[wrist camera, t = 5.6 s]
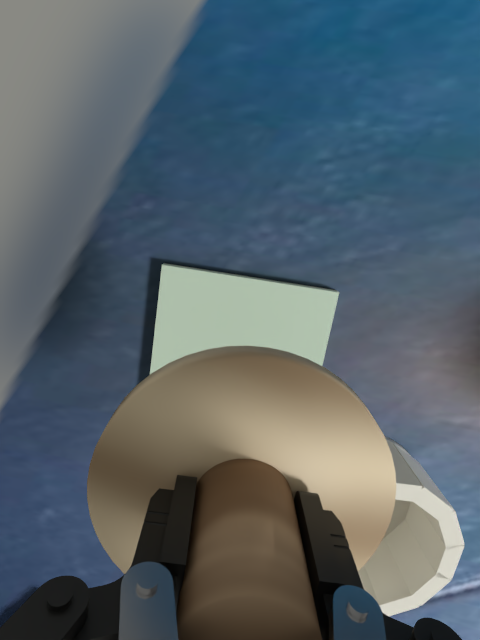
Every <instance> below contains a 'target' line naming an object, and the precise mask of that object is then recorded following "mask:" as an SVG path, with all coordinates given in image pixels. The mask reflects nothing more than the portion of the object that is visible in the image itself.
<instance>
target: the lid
mask: <svg viewBox="0 0 480 640" xmlns="http://www.w3.org/2000/svg"><path fill="white" fill-rule="evenodd" d="M177 475H184V476H191V477H197V483H196V491H195V499H194V506H193V514H192V522H191V529H190V537H189V544H188V552H187V560H186V567H185V573H184V579H183V585H182V588H181V590H180V593H179V597H178V603H177V610H176V620H177V631H178V640H322V637H321V632H320V627H319V622H318V617H317V612H316V608H315V603H314V598H313V593H312V588H311V583H310V578H309V573H308V568H307V563H306V558H305V554H304V549H303V544H302V539H301V534H300V529H299V524H298V519H297V514H296V509H295V504H294V497H295V493H296V492H297V491H303V492H311V493H317V494H318V495H319V497H320V501H321V504H322V507H323V510H329V511H332V512H333V513H334V514H335V515H336V517H337V518H338V519H339V520H340V522H341V523H342V526H343V529H344V532H345V535H346V538H347V541H348V544H349V549H350V550H351V553H352V556H353V559H354V562H355V564H356V567H357V570H358V571H359V570H360V569H361V568H362V567H363V566H364V565H365V564H366V563H367V561H368V560H369V559H370V558H371V556H372V555H373V554H374V553H375V551H376V550H377V548H378V546H379V545H380V543H381V541H382V539H383V538H384V536H385V533H386V531H387V529H388V526H389V524H390V521H391V518H392V514H393V510H394V506H395V497H396V473H395V467H394V463H393V458H392V454H391V451H390V449H389V446H388V444H387V441H386V438H385V436H384V435H383V433H382V431H381V430H380V428H379V426H378V425H377V423H376V421H375V420H374V418H373V417H372V415H371V414H370V412H369V410H368V409H367V407H366V406H365V404H364V403H363V402H362V401H361V399H360V398H359V397H358V396H357V394H356V393H355V392H354V391H353V390H352V389H351V388H350V387H349V386H348V385H347V384H346V383H345V382H344V381H342V380H341V379H340V378H339V377H337V376H336V375H335V374H333V373H332V372H330V371H329V370H327V369H326V368H325V367H323V366H321V365H319V364H317V363H315V362H313V361H311V360H309V359H307V358H304V357H301V356H299V355H296V354H293V353H290V352H287V351H282V350H278V349H273V348H269V347H258V346H226V347H219V348H213V349H207V350H203V351H200V352H196V353H193V354H189V355H186V356H184V357H182V358H179V359H177V360H175V361H172V362H170V363H168V364H166V365H165V366H163V367H161V368H160V369H158V370H156V371H155V372H153V373H151V374H150V375H149V376H148V377H146V378H145V379H144V380H143V381H141V382H140V383H139V384H138V385H137V386H136V387H135V388H134V389H133V390H132V391H131V392H130V393H129V394H128V395H127V396H126V397H125V398H124V400H123V401H122V402H121V404H120V405H119V407H118V408H117V409H116V411H115V412H114V414H113V416H112V417H111V419H110V421H109V423H108V424H107V426H106V428H105V430H104V431H103V433H102V435H101V437H100V439H99V441H98V443H97V445H96V447H95V450H94V453H93V457H92V460H91V463H90V467H89V474H88V480H87V500H88V506H89V512H90V517H91V520H92V523H93V526H94V529H95V532H96V534H97V536H98V538H99V540H100V542H101V544H102V546H103V548H104V549H105V551H106V552H107V554H108V555H109V556H110V558H111V559H112V561H113V562H114V563H115V564H116V565H117V566H118V567H119V568H120V570H121V571H122V572H123V573H124V574H125V573H126V572H127V571H128V570H129V568H130V566H131V564H132V562H133V558H134V555H135V551H136V548H137V544H138V540H139V537H140V533H141V530H142V526H143V523H144V519H145V516H146V513H147V508H148V505H149V501H150V498H151V497H152V496H153V495H154V494H155V493H156V492H157V490H158V489H159V488H161V489H169V490H174V487H175V483H176V478H177Z"/></svg>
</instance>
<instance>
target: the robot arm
mask: <svg viewBox="0 0 480 640" xmlns="http://www.w3.org/2000/svg"><path fill="white" fill-rule="evenodd" d="M196 483H197V477H191V476H184V475H177V478H176V483H175V487H174V490H169V489H161V488H159V489H158V490H157V492H156V493H155V494H154V495H153V496H152V497H151V498H150V501H149V505H148V508H147V513H146V516H145V519H144V523H143V526H142V530H141V533H140V537H139V540H138V544H137V548H136V551H135V555H134V558H133V562H132V564H131V566H130V568H129V570H128V571H127V572H126V573H125V574H124V575H123V576H122V577H121V578H120V579H118V580H116V581H115V582H112V583H110V584H107V585H103V586H98V587H93V588H88V587H87V585H86V584H85V583H84V582H83V581H82V580H81V579H79V578H77V577H74V576H60V577H56V578H53V579H51V580H49V581H47V582H46V583H44V584H43V585H42V586H41V587H39V588H38V589H37V590H36V591H35V592H34V593H33V594H32V596H31V597H30V598H29V599H28V600H27V601H26V602H25V603H24V604H23V605H22V606H21V607H20V608H19V609H18V610H17V611H16V612H15V613H14V614H13V615H12V616H11V617H10V618H9V619H8V620H7V621H6V622H5V623H4V624H3V625H2V626H1V628H0V640H178V631H177V620H176V610H177V603H178V597H179V593H180V590H181V588H182V585H183V579H184V573H185V567H186V560H187V552H188V544H189V537H190V529H191V522H192V514H193V506H194V499H195V491H196ZM294 504H295V509H296V514H297V519H298V524H299V529H300V534H301V539H302V544H303V549H304V554H305V558H306V563H307V568H308V573H309V578H310V583H311V588H312V593H313V598H314V603H315V608H316V612H317V617H318V622H319V627H320V632H321V637H322V640H462V639H461V638H460V637H459V636H458V635H457V634H456V632H454V631H453V630H452V629H451V628H450V627H448V626H447V625H446V624H444V623H442V622H440V621H438V620H435V619H432V618H422V619H420V620H418V621H417V622H416V624H415V626H414V627H411V626H409V625H407V624H404V623H402V622H400V621H397V620H395V619H393V618H391V617H389V616H387V615H385V614H384V613H382V611H381V608H380V606H379V604H378V603H377V601H376V600H375V599H374V598H373V597H372V596H371V595H370V594H369V593H368V592H366V591H365V590H364V588H363V585H362V582H361V579H360V576H359V573H358V570H357V567H356V564H355V562H354V559H353V556H352V553H351V550H350V549H349V544H348V541H347V538H346V535H345V532H344V529H343V526H342V523H341V522H340V520H339V519H338V518H337V517H336V515H335V514H334V513H333V512H332V511H329V510H323V507H322V504H321V501H320V497H319V495H318V494H317V493H311V492H303V491H297V492H296V493H295V497H294Z"/></svg>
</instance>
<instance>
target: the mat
mask: <svg viewBox="0 0 480 640" xmlns="http://www.w3.org/2000/svg"><path fill="white" fill-rule="evenodd" d="M338 295H339V292H338V291H337V290H332V289H326V288H319V287H313V286H306V285H300V284H294V283H287V282H281V281H275V280H268V279H262V278H256V277H249V276H243V275H236V274H230V273H224V272H217V271H211V270H205V269H198V268H192V267H185V266H179V265H173V264H166V263H163V264H162V268H161V277H160V286H159V296H158V305H157V314H156V323H155V332H154V341H153V350H152V359H151V368H150V374H151V373H153V372H155V371H156V370H158V369H160V368H161V367H163V366H165V365H166V364H168V363H170V362H172V361H175V360H177V359H179V358H182V357H184V356H186V355H189V354H193V353H196V352H200V351H203V350H207V349H213V348H219V347H226V346H258V347H269V348H273V349H278V350H282V351H287V352H290V353H293V354H296V355H299V356H301V357H304V358H307V359H309V360H311V361H313V362H315V363H317V364H319V365H321V366H322V365H323V360H324V356H325V352H326V347H327V343H328V339H329V334H330V330H331V326H332V321H333V317H334V313H335V308H336V304H337V300H338Z"/></svg>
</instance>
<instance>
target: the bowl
mask: <svg viewBox="0 0 480 640" xmlns="http://www.w3.org/2000/svg"><path fill="white" fill-rule="evenodd" d="M385 438H386V441H387V444H388V446H389V449H390V451H391V454H392V458H393V463H394V467H395V473H396V497H395V506H394V510H393V514H392V518H391V521H390V524H389V526H388V529H387V531H386V533H385V536H384V538H383V539H382V541H381V543H380V545H379V546H378V548H377V550H376V551H375V553H374V554H373V555H372V556H371V558H370V559H369V560H368V561H367V563H366V564H365V565H364V566H363V567H362V568H361V569H360V570H359V571H358V573H359V576H360V579H361V582H362V585H363V588H364V590H365V591H366V592H368V593H369V594H370V595H371V596H372V597H373V598H374V599H375V600H376V601H377V603H378V604H379V606H380V608H381V611H382V613H384V614H385V615H387V616H392V615H395V614H398V613H401V612H405V611H408V610H411V609H414V608H418V607H419V605H421V606H422V605H423V604H424V603H425V602H427V601H428V600H429V599H430V598H431V597H432V596H434V595H435V594H436V593H437V592H438V591H439V590H441V589H442V588H443V587H444V586H445V585H446V584H448V583H449V582H450V581H451V580H450V579H452V578H453V575H454V572H455V570H456V567H457V564H458V562H459V559H460V557H461V554H462V551H463V549H464V541H463V537H462V533H461V530H460V526H459V523H458V519H457V515H456V512H455V510H454V509H453V508H452V506H451V505H450V504H449V502H448V501H447V500H446V498H445V497H444V496H443V494H442V493H441V491H440V490H439V489H438V487H437V486H436V485H435V483H434V482H433V481H432V479H431V478H430V477H429V475H428V474H427V473H426V471H425V470H424V469H423V467H422V466H421V465H420V463H419V462H418V461H416V460H415V459H414V458H412V457H411V455H410V454H409V453H408V452H407V450H405V449H404V448H403V447H402V446H401V445H400V444H398V443H397V442H395V441H394V440H392V439H390V438H388V437H385Z"/></svg>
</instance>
